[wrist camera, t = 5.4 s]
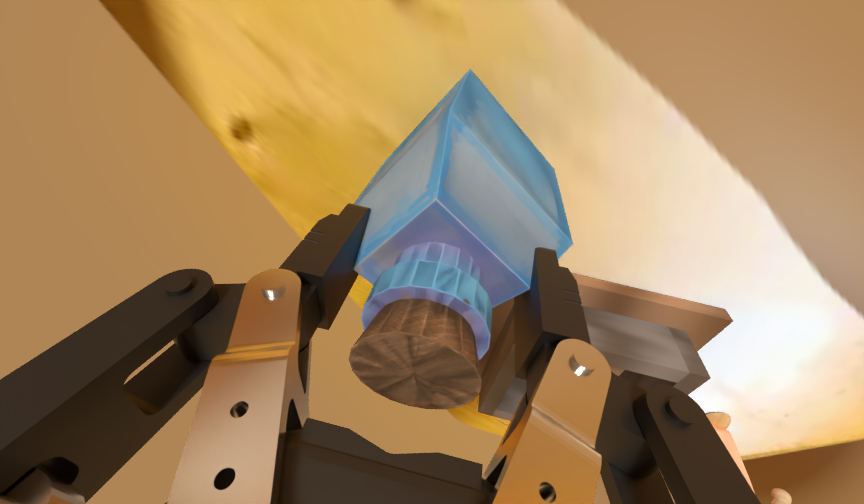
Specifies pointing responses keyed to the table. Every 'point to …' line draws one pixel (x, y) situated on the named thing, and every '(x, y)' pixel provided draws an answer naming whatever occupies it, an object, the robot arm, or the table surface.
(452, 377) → the perfume bottle
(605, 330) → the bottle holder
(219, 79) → the table surface
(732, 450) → the grandmother figurine
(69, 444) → the robot arm
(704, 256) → the table surface
